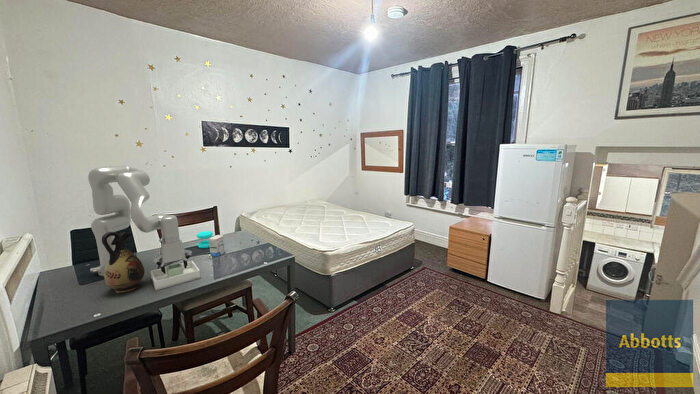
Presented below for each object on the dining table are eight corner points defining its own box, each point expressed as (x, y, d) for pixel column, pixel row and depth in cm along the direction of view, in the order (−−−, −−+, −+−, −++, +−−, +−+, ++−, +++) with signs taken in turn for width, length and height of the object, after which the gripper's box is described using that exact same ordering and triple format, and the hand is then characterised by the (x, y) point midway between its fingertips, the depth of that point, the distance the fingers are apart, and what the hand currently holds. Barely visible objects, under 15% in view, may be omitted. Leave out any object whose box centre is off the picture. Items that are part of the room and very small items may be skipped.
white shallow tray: (155, 290, 136) (154, 282, 136) (151, 278, 148) (150, 271, 147) (200, 278, 149) (199, 270, 149) (193, 268, 161) (192, 260, 160)
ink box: (216, 256, 177) (215, 239, 175) (209, 256, 178) (208, 238, 176) (225, 251, 185) (223, 235, 183) (218, 251, 186) (217, 234, 184)
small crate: (169, 280, 144) (168, 270, 143) (167, 276, 149) (166, 265, 148) (184, 277, 148) (182, 266, 147) (181, 272, 153) (180, 262, 152)
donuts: (193, 235, 188) (200, 230, 198) (195, 249, 190) (202, 244, 200) (208, 234, 189) (215, 230, 199) (210, 248, 191) (216, 243, 201)
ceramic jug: (133, 278, 149) (125, 224, 143) (153, 283, 143) (145, 227, 137) (95, 294, 133) (84, 234, 127) (115, 301, 128) (105, 238, 122)
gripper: (151, 245, 136) (156, 277, 140) (191, 237, 148) (194, 267, 151) (150, 241, 142) (154, 272, 145) (188, 234, 153) (191, 263, 156)
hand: (175, 270), depth 148 cm, fingers open, 9 cm apart
